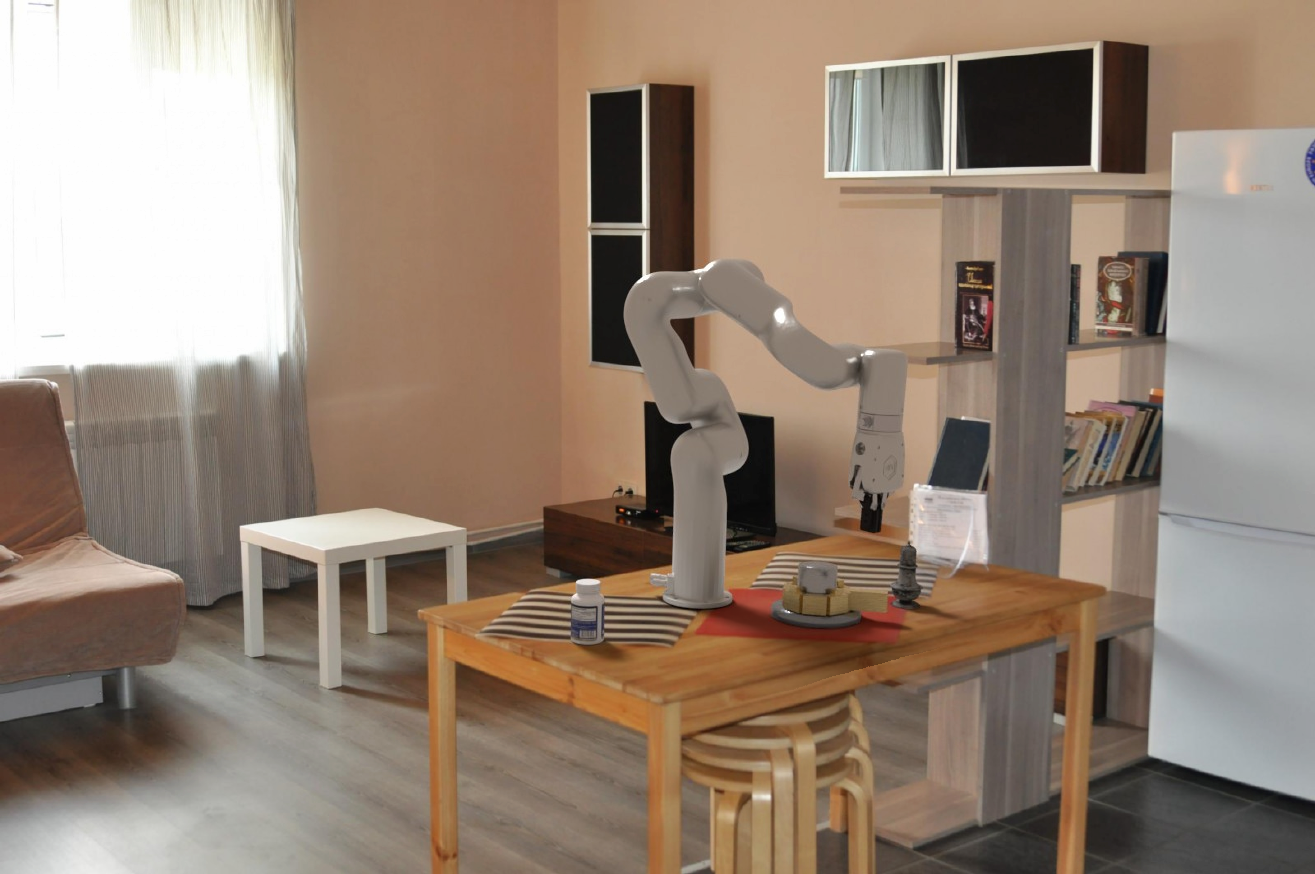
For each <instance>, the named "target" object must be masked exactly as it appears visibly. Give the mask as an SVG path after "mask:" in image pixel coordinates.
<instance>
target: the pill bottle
mask: <svg viewBox="0 0 1315 874" xmlns="http://www.w3.org/2000/svg"><path fill="white" fill-rule="evenodd" d="M601 585H602V583H601V580H598V579H594V578H582V579H577V580H576V582H575V591H576V593H574V594H573V595H572V596H571V599H570V640H571V642H572V643H575V644H578V645H584V646H592V645H593V646H594V645H597V644H601V643H602V642H603V641H604V640H605V610H606V608H605V606H606V605H605V604H606V603H605V602H606V601H605V597H604V595H603V594H602V593H600V592H601V589H602V588H601Z"/></svg>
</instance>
